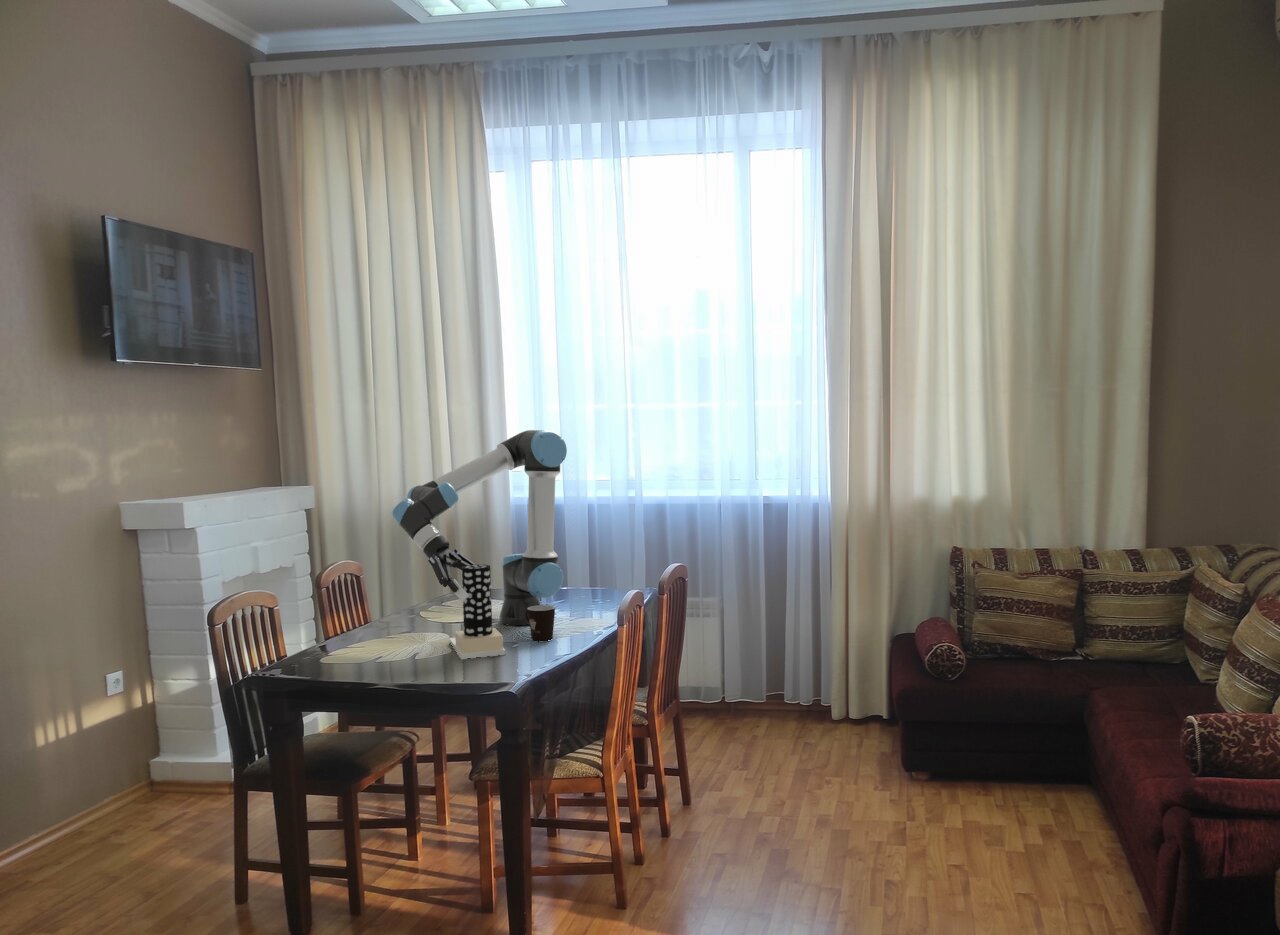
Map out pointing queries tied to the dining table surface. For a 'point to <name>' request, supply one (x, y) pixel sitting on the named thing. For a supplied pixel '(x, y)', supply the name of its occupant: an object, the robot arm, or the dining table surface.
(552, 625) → the coffee mug
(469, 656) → the stand
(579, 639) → the dining table surface
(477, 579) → the spotted tube
